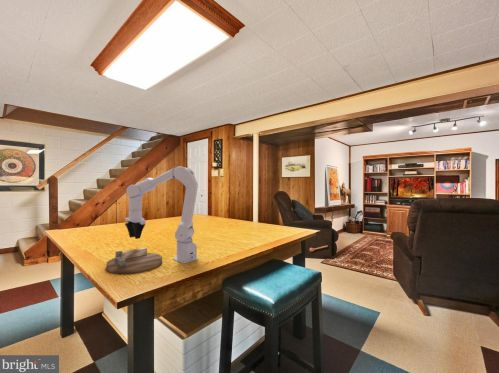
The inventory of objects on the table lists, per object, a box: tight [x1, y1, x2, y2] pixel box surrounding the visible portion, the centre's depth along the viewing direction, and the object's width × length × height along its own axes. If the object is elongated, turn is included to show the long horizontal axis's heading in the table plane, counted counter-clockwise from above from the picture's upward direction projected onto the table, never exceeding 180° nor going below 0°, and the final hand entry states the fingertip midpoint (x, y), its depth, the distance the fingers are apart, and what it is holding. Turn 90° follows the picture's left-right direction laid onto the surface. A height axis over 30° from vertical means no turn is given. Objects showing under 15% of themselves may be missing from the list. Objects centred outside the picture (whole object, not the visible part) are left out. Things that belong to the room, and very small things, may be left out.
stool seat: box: [105, 252, 163, 275], centre depth 103 cm, size 22×22×5 cm
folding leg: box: [114, 246, 148, 259], centre depth 107 cm, size 13×3×4 cm, turn 140°
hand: (134, 237), depth 114 cm, fingers open, 4 cm apart
